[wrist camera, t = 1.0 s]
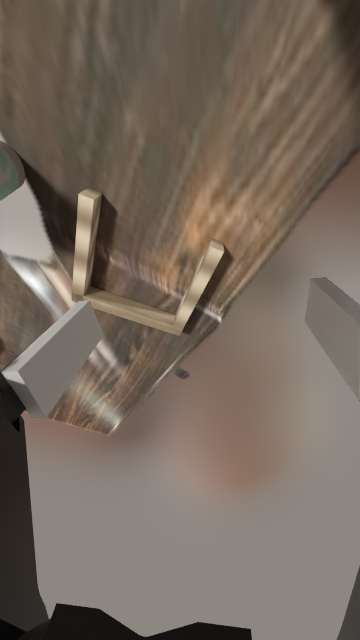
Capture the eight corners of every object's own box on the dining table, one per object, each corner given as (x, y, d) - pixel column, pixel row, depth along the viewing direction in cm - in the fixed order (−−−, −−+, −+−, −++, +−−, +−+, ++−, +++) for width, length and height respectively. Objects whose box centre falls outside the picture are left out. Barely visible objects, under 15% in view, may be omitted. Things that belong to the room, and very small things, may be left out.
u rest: (88, 187, 33) (78, 193, 31) (223, 242, 37) (224, 252, 34) (78, 290, 46) (71, 300, 43) (180, 324, 49) (179, 335, 47)
